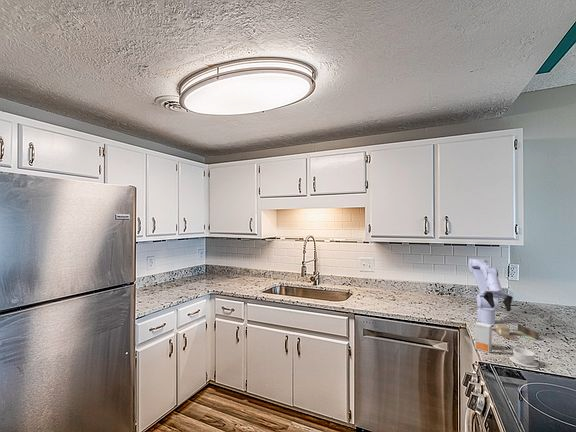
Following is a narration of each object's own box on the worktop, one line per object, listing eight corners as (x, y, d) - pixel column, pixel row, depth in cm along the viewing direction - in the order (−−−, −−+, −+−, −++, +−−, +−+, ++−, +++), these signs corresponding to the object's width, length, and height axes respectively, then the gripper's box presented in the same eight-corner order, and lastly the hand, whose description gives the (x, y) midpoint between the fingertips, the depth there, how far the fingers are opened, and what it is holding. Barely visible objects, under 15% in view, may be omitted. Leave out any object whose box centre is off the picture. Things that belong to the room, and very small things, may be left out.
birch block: (496, 331, 162) (496, 324, 162) (504, 332, 162) (504, 324, 162) (500, 334, 158) (501, 327, 158) (509, 335, 158) (509, 327, 158)
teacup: (534, 370, 125) (534, 359, 125) (505, 361, 133) (505, 350, 133) (542, 364, 131) (542, 353, 131) (514, 355, 139) (514, 344, 139)
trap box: (489, 331, 167) (489, 322, 167) (518, 332, 166) (518, 323, 166) (506, 341, 153) (506, 332, 153) (537, 342, 152) (538, 333, 152)
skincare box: (474, 349, 144) (474, 323, 144) (476, 346, 147) (477, 321, 147) (489, 353, 140) (489, 327, 140) (491, 350, 143) (492, 324, 143)
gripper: (483, 279, 165) (489, 301, 156) (512, 285, 163) (520, 307, 154) (477, 286, 170) (483, 308, 161) (505, 292, 168) (513, 314, 159)
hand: (501, 308), depth 158 cm, fingers open, 7 cm apart
